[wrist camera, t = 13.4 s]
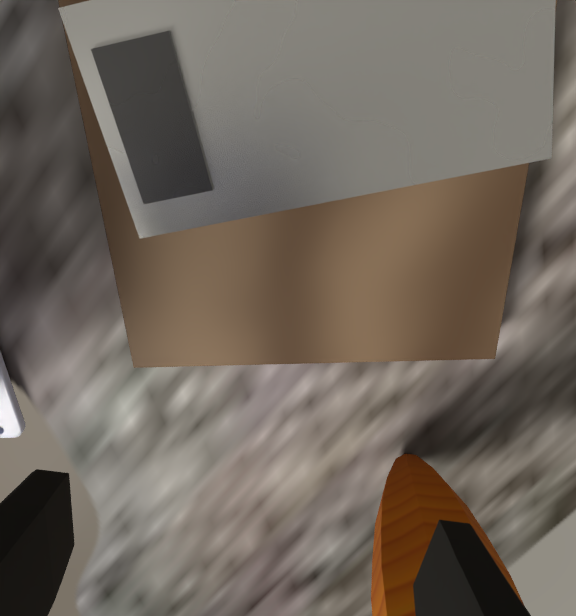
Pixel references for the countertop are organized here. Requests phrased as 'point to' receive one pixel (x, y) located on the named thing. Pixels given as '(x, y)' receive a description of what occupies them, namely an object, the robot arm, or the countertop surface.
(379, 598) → the carrot
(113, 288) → the countertop surface
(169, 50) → the cap
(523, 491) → the countertop surface
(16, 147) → the countertop surface
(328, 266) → the lock board
